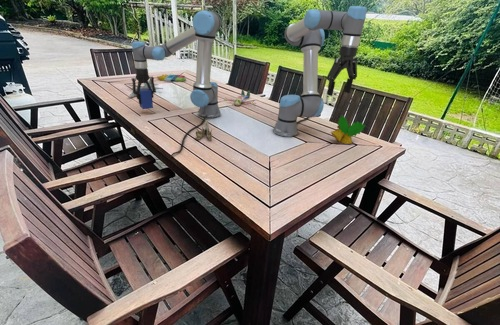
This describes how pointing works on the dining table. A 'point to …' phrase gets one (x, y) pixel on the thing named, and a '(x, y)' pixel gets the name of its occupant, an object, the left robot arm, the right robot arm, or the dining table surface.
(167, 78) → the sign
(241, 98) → the toy
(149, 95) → the brick
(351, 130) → the ornament
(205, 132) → the jawbone
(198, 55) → the left robot arm
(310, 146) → the dining table surface
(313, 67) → the right robot arm
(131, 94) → the airplane
